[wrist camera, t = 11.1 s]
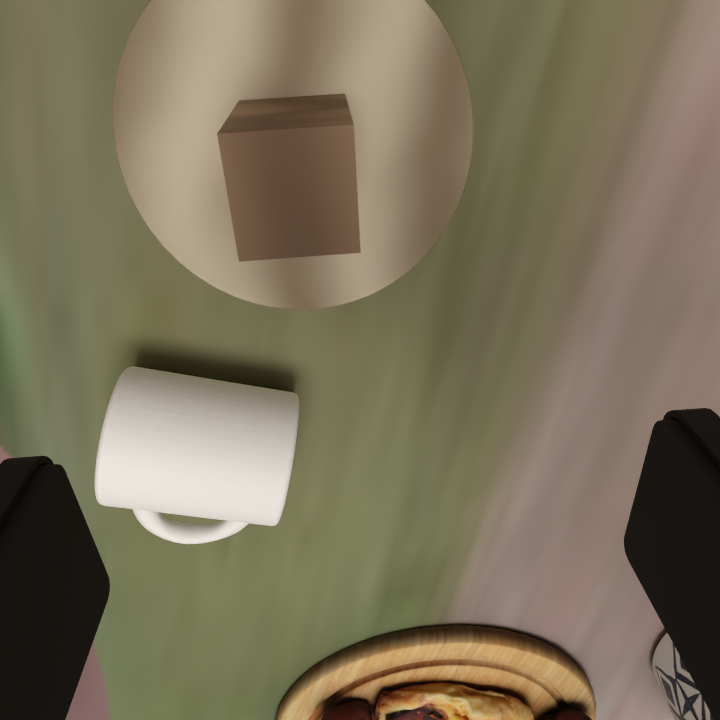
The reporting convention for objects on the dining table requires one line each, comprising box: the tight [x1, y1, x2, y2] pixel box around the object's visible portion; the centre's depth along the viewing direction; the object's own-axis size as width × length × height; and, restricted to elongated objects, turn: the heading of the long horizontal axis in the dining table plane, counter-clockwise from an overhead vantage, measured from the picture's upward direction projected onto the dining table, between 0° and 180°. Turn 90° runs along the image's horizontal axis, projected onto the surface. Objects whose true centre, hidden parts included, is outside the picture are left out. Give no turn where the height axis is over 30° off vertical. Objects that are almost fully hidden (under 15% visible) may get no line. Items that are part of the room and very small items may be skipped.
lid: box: [113, 0, 473, 309], centre depth 21 cm, size 14×14×7 cm
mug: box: [95, 366, 299, 544], centre depth 36 cm, size 12×10×8 cm
